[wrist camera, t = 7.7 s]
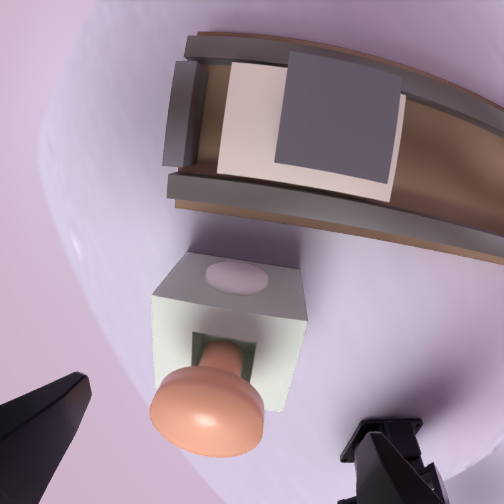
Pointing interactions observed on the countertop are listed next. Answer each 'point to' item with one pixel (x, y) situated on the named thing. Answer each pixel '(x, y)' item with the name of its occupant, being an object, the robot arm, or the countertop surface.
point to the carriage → (314, 125)
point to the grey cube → (231, 319)
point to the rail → (336, 203)
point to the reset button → (210, 405)
